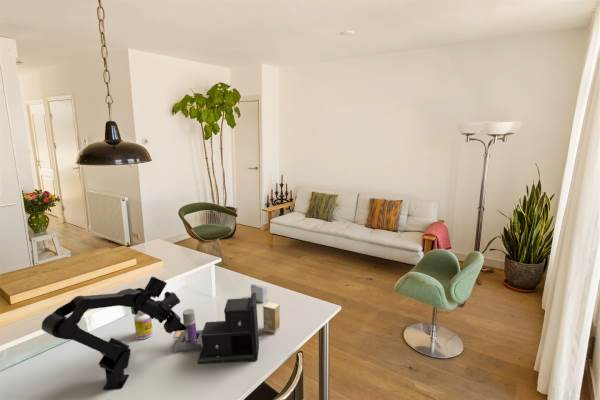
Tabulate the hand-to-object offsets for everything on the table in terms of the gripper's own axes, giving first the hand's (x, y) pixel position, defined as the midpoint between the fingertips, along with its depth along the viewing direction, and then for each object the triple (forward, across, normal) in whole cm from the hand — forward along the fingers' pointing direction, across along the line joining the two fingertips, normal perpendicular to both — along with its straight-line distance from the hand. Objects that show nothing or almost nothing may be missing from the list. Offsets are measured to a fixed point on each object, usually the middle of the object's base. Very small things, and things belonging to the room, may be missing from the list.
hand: (183, 323), depth 140 cm
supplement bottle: (-1, +19, +16) cm, 25 cm away
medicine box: (+39, +16, -24) cm, 48 cm away
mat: (+9, +10, +5) cm, 15 cm away
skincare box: (+32, -12, -17) cm, 38 cm away
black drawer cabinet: (+16, -16, -1) cm, 23 cm away
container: (+9, 0, +6) cm, 11 cm away
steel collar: (+9, 0, +6) cm, 11 cm away
